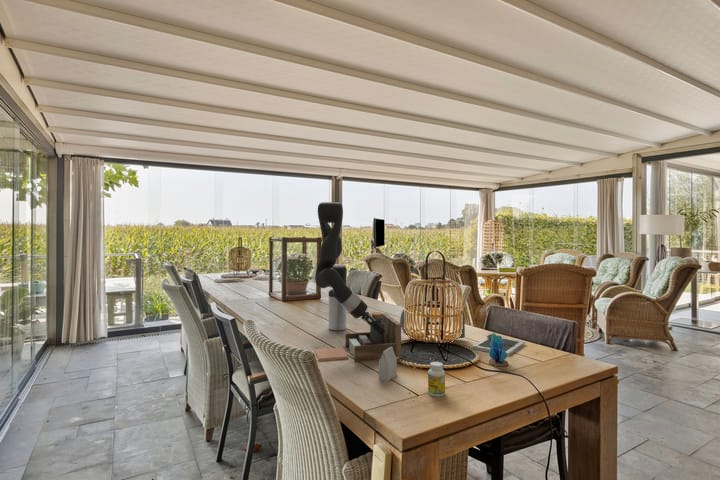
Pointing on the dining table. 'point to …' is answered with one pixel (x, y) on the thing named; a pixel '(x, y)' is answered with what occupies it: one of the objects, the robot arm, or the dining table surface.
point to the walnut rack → (375, 351)
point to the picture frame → (509, 346)
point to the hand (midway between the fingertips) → (380, 331)
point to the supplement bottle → (436, 379)
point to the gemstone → (497, 352)
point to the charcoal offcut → (364, 340)
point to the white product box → (388, 365)
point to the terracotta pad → (331, 354)
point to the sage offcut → (353, 344)
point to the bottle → (374, 334)
